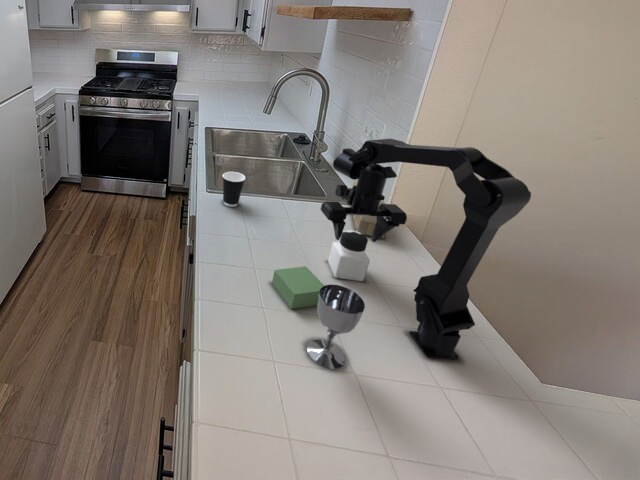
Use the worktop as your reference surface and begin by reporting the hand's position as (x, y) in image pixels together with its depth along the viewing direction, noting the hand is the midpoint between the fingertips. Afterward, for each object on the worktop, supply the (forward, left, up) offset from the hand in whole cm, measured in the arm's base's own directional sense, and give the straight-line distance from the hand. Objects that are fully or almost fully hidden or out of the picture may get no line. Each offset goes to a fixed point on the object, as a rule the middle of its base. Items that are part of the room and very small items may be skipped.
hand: (354, 240), depth 101 cm
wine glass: (-28, +16, -10) cm, 34 cm away
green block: (-10, +16, -10) cm, 22 cm away
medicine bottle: (0, 0, -10) cm, 10 cm away
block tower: (+31, -20, -10) cm, 38 cm away
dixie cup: (+36, +25, -10) cm, 45 cm away
